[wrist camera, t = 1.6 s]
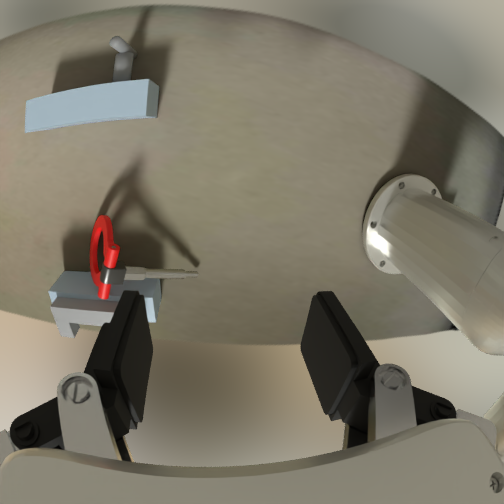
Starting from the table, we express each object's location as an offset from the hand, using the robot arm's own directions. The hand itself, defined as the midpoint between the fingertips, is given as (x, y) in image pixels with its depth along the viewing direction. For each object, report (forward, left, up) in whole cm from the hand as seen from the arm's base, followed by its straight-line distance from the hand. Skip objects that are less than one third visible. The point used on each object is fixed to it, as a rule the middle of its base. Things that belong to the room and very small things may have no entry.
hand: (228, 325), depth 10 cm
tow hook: (+9, +5, -20) cm, 23 cm away
